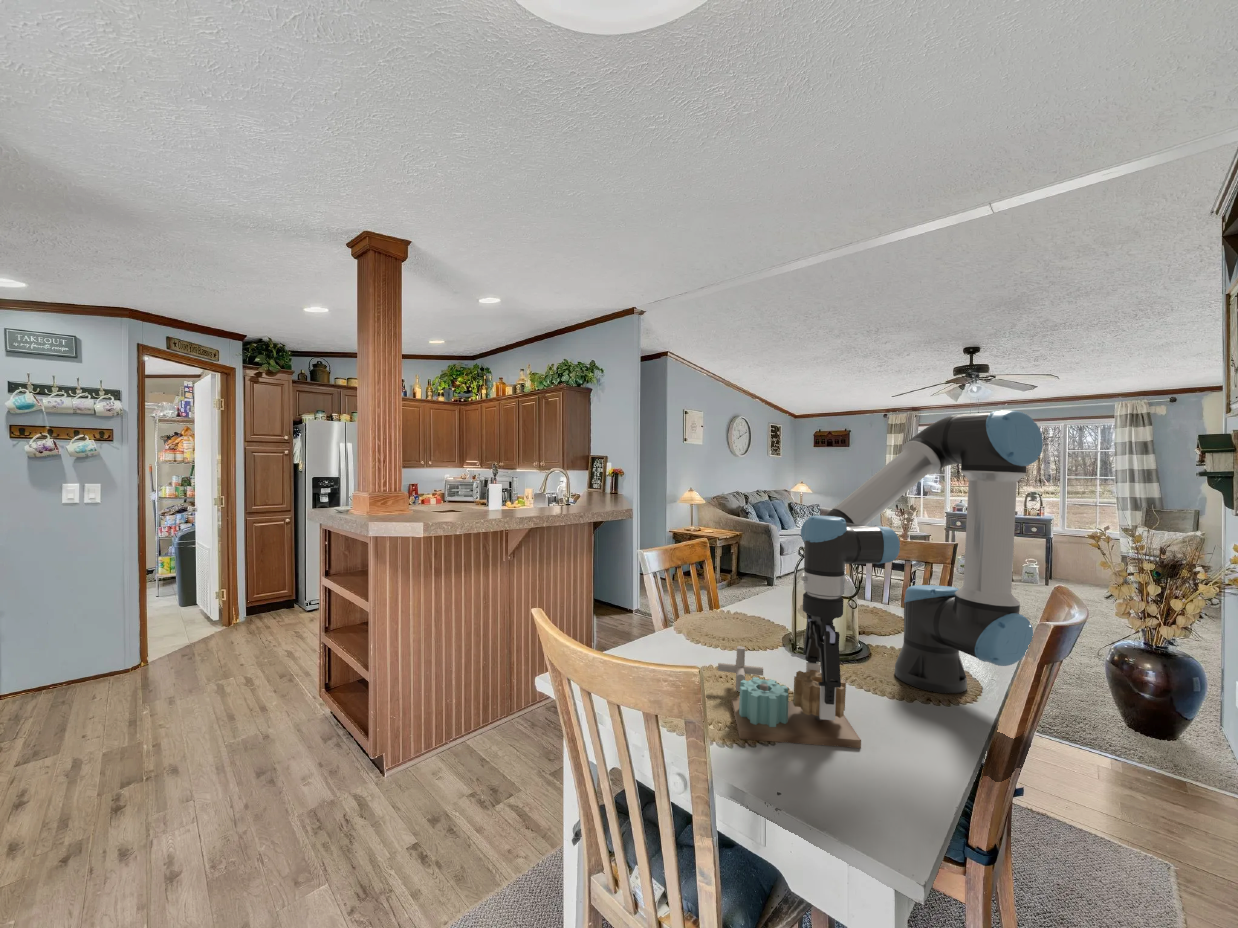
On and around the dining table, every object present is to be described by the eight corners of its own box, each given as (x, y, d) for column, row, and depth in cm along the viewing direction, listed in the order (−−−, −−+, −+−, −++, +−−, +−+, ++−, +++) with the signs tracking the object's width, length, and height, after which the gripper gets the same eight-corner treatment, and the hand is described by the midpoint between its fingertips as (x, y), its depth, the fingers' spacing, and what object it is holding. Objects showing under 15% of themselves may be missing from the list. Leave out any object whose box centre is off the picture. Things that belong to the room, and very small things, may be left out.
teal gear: (776, 702, 109) (777, 676, 109) (796, 726, 100) (797, 697, 100) (732, 703, 108) (733, 677, 108) (748, 727, 99) (749, 699, 99)
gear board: (836, 711, 109) (837, 676, 109) (860, 748, 96) (862, 707, 95) (731, 703, 112) (732, 669, 112) (739, 738, 98) (740, 699, 98)
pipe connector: (764, 703, 112) (765, 657, 112) (717, 698, 114) (718, 653, 114) (760, 684, 122) (761, 642, 122) (717, 679, 124) (718, 638, 124)
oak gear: (835, 698, 107) (837, 671, 107) (852, 721, 98) (853, 692, 98) (788, 694, 108) (789, 667, 108) (799, 716, 99) (800, 688, 99)
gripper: (790, 580, 114) (787, 680, 114) (819, 608, 92) (815, 733, 92) (826, 582, 113) (822, 683, 114) (863, 611, 91) (859, 737, 92)
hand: (819, 705), depth 103 cm, fingers closed on oak gear, 10 cm apart
